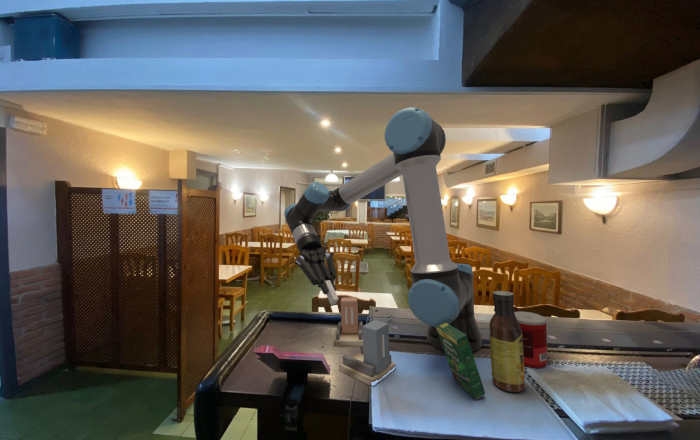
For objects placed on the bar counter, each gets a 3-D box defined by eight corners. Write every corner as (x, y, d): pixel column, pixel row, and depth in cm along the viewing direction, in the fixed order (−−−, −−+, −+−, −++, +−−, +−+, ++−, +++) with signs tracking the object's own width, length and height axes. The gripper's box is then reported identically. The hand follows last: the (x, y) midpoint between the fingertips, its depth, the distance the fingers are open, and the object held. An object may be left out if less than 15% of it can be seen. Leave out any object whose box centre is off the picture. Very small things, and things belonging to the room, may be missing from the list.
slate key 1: (363, 368, 64) (362, 326, 64) (376, 359, 68) (375, 319, 68) (378, 374, 62) (376, 330, 62) (390, 365, 65) (389, 323, 65)
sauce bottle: (530, 395, 55) (526, 297, 55) (497, 392, 56) (493, 297, 56) (517, 376, 62) (514, 289, 62) (487, 374, 63) (484, 289, 63)
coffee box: (451, 378, 62) (434, 325, 61) (462, 372, 63) (445, 320, 62) (474, 401, 54) (455, 340, 54) (486, 394, 55) (467, 334, 54)
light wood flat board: (362, 327, 93) (361, 317, 93) (404, 380, 62) (404, 364, 62) (323, 333, 89) (323, 323, 89) (348, 392, 59) (348, 376, 59)
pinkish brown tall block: (343, 328, 89) (341, 297, 89) (358, 328, 88) (357, 297, 88) (341, 333, 84) (340, 301, 84) (357, 333, 84) (356, 301, 84)
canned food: (543, 355, 70) (542, 312, 70) (551, 371, 63) (549, 324, 63) (509, 350, 74) (508, 309, 74) (513, 365, 66) (511, 320, 66)
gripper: (321, 246, 96) (349, 304, 82) (285, 250, 89) (310, 314, 75) (327, 231, 92) (358, 290, 78) (290, 234, 85) (317, 299, 71)
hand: (334, 302), depth 77 cm, fingers closed
